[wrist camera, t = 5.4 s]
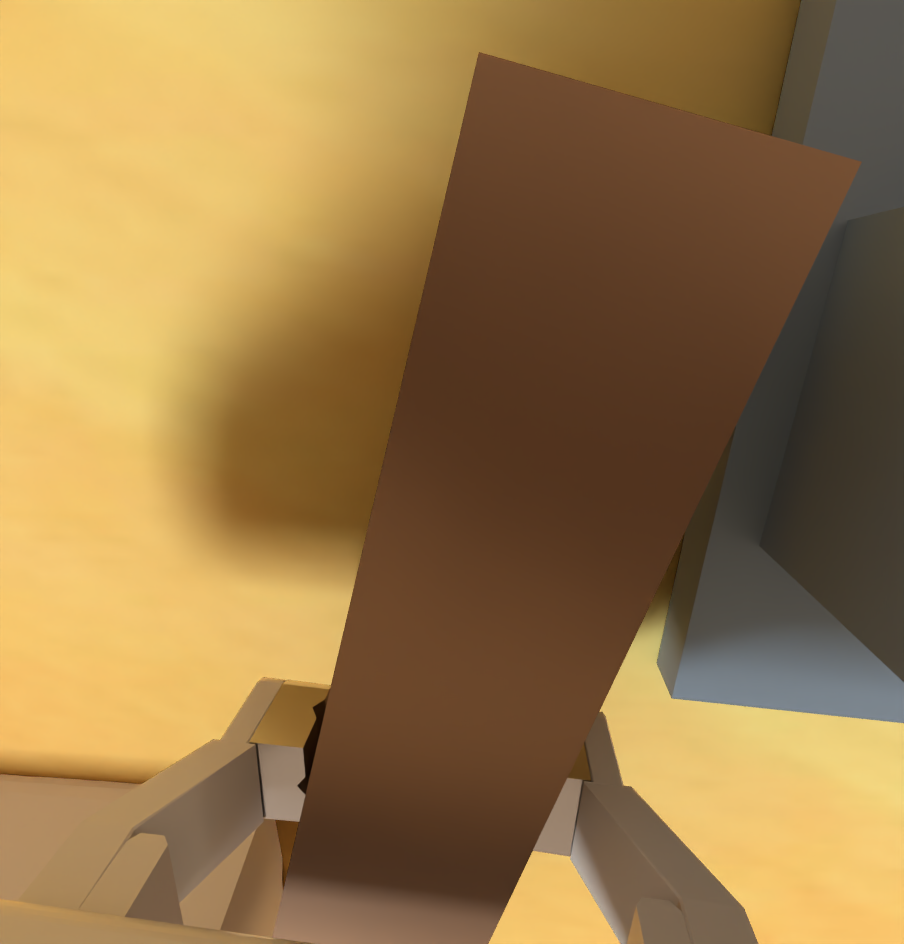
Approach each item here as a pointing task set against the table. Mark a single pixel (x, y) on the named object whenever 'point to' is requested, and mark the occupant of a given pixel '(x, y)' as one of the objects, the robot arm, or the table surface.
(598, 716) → the robot arm
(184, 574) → the table surface
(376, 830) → the walnut bar
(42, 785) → the beige long block
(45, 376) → the table surface
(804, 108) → the gray stepped block
